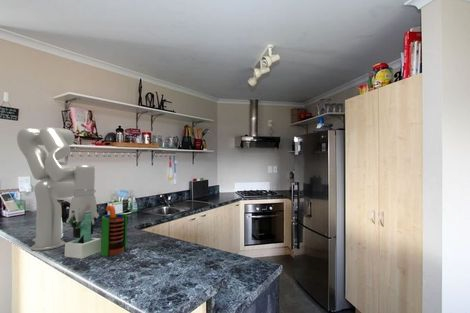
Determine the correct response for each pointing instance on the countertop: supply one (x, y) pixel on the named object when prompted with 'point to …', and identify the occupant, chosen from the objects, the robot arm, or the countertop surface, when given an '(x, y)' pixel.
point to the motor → (113, 233)
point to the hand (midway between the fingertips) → (83, 235)
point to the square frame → (82, 248)
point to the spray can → (85, 228)
